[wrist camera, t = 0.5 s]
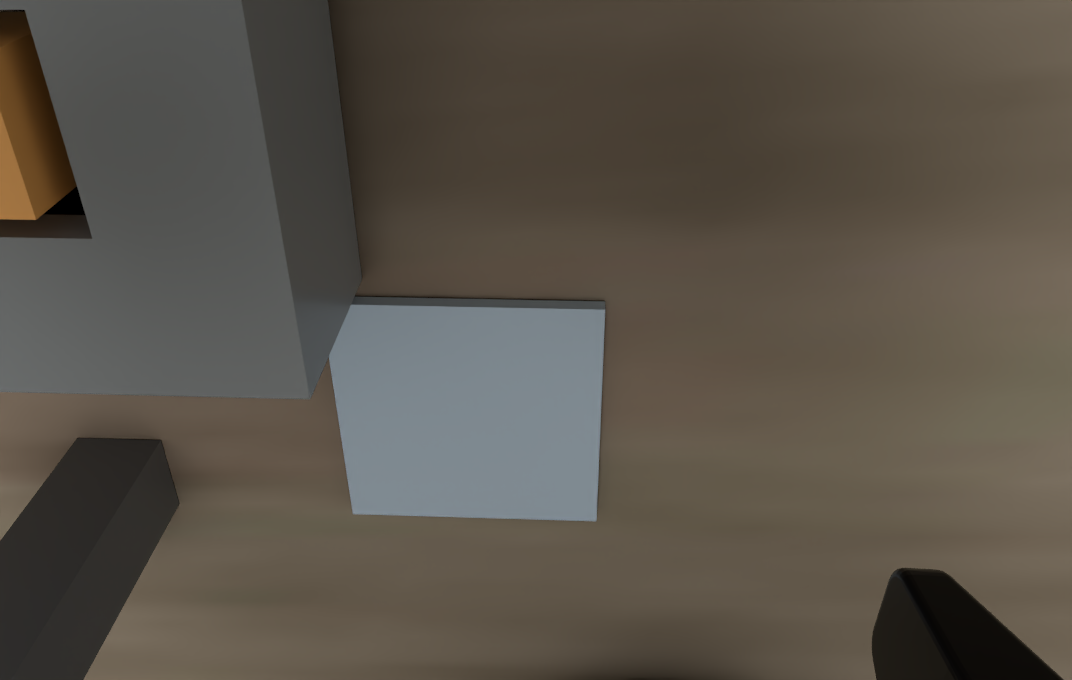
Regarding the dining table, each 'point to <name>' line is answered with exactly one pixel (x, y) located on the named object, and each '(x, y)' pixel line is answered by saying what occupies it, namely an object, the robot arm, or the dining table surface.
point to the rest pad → (471, 406)
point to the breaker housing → (185, 204)
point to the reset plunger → (28, 129)
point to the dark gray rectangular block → (80, 555)
